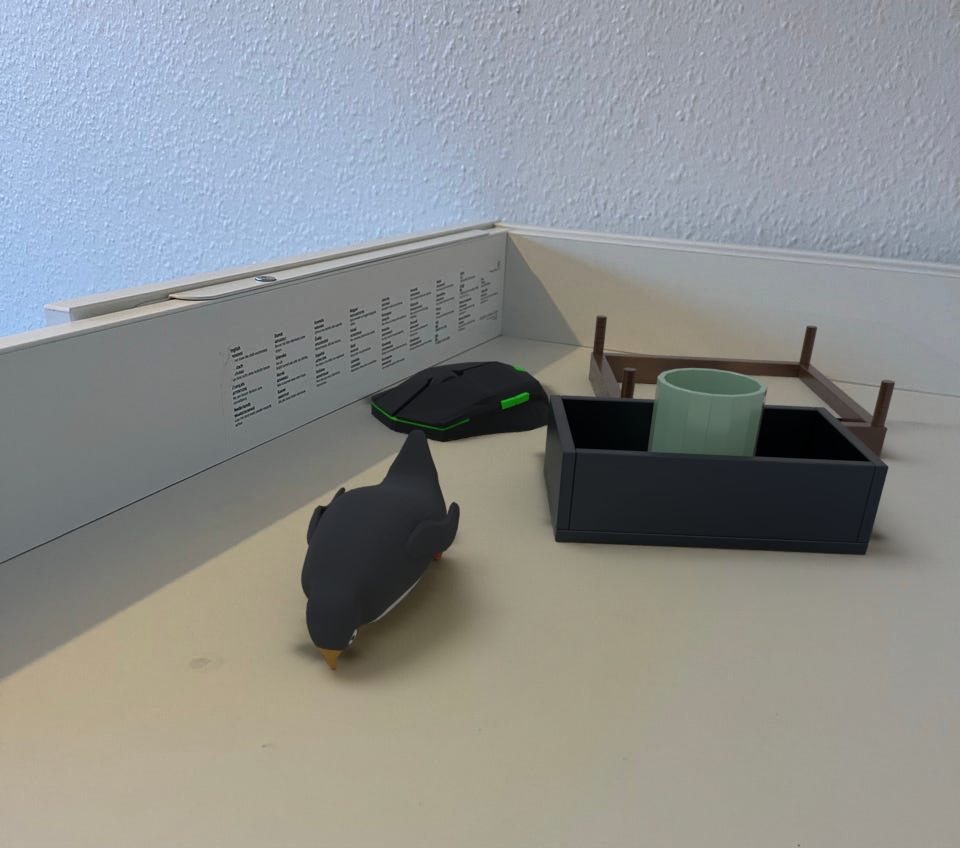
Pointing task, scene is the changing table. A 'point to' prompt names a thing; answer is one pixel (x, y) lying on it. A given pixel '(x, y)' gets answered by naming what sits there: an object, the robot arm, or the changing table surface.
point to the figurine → (374, 547)
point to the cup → (706, 412)
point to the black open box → (709, 482)
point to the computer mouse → (464, 401)
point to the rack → (648, 368)
